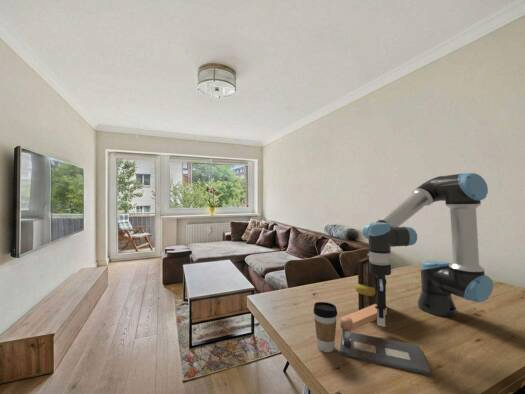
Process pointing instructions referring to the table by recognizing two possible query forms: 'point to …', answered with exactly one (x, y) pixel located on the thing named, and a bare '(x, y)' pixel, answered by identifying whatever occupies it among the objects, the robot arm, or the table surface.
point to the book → (366, 285)
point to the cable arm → (359, 318)
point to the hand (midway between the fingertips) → (381, 324)
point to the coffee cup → (325, 325)
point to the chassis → (383, 352)
